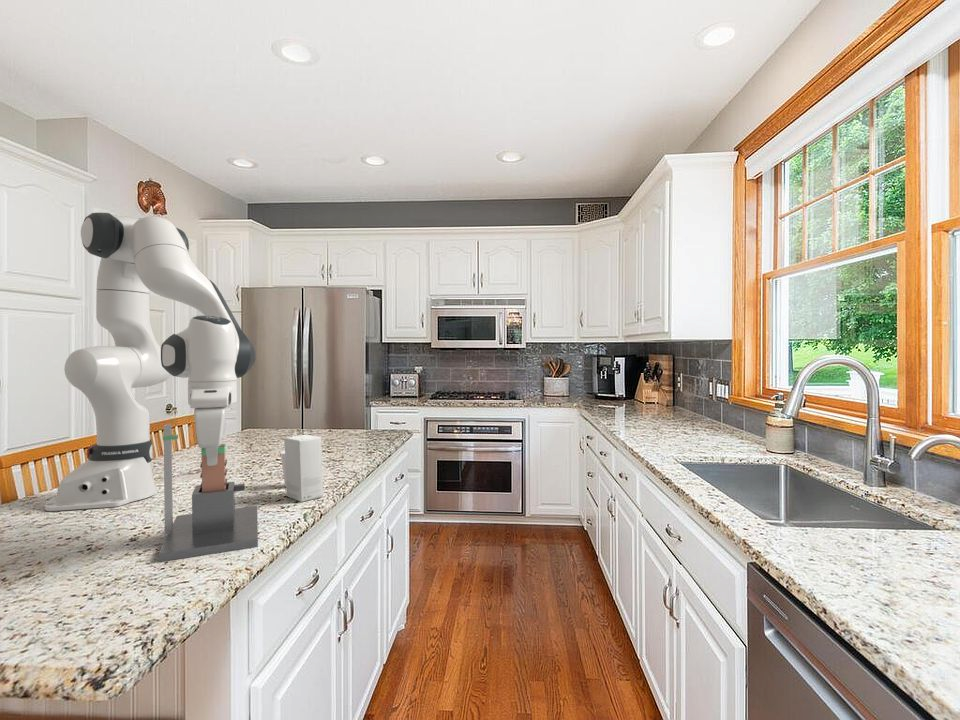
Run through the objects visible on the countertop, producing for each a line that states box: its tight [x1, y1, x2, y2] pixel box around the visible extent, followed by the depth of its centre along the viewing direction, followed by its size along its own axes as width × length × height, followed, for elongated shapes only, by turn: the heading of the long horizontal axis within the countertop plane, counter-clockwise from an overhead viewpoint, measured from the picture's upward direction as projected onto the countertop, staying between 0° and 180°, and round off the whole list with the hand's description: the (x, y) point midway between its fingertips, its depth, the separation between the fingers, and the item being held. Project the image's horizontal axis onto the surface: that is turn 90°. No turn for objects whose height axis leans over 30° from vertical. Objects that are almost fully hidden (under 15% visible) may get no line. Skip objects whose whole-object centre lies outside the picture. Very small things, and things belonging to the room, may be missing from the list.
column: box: [199, 443, 228, 492], centre depth 99 cm, size 5×4×12 cm
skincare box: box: [283, 434, 324, 503], centre depth 124 cm, size 8×7×16 cm
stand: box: [158, 424, 259, 563], centre depth 99 cm, size 17×22×23 cm
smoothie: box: [279, 435, 295, 488], centre depth 134 cm, size 6×6×14 cm
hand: (213, 462), depth 99 cm, fingers open, 4 cm apart
